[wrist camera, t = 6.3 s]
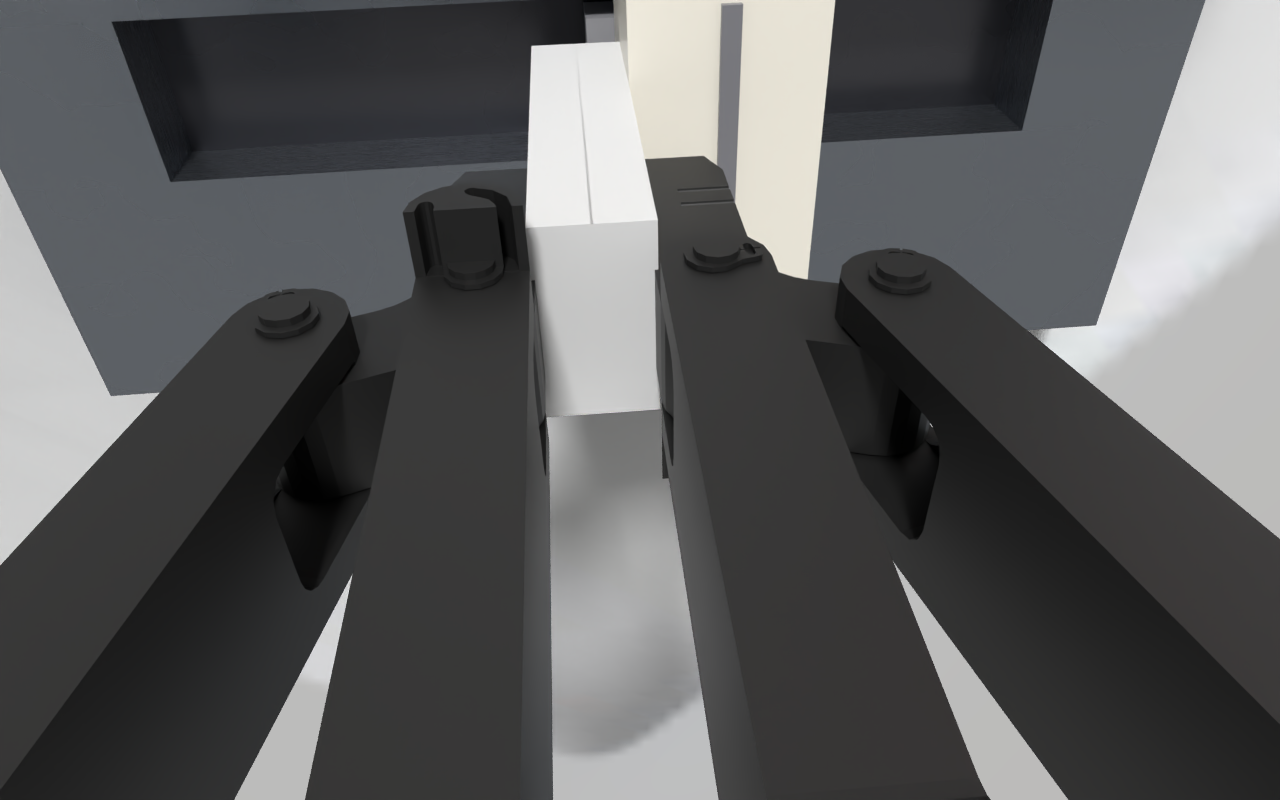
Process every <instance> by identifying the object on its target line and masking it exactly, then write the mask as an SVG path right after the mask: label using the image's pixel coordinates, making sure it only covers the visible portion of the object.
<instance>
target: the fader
mask: <svg viewBox="0 0 1280 800" xmlns="http://www.w3.org/2000/svg"><path fill="white" fill-rule="evenodd" d="M583 5H584V21H585V37H586V43H601V42H619V43H620V47H621V52H622V56H623V61H624V65H625V70H626V74H627V79H628V83H629V88H630V92H631V97H632V102H633V106H634V111H635V116H636V120H637V125H638V130H639V134H640V139H641V144H642V148H643V153H644V158H645V159H655V158H673V157H690V156H705V157H706V158H707V159H709V160H710V161H712V162H713V163H714V164H716V165H717V166H719V167H720V168H721V169H723V171H724V174H725V177H726V180H727V182H728V185H729V189H730V190H731V193H732V196H733V198H734V203H735V204H736V207H737V209H738V212H739V215H740V217H741V220H742V223H743V226H744V228H745V231H746V234H747V236H748V237H750V238H751V239H753V240H755V241H757V242H759V243H761V244H763V245H764V246H765V247H766V248H767V250H768V251H769V252H770V253H771V255H772V257H773V259H774V262H775V264H776V267H777V269H778V272H780V273H783V274H786V275H789V276H792V277H797V278H802V279H808V269H809V259H810V249H811V239H812V229H813V219H814V209H815V199H816V189H817V179H818V168H819V158H820V148H821V138H822V128H823V118H824V108H825V98H826V88H827V78H828V68H829V58H830V48H831V38H832V28H833V18H834V8H835V0H613V1H601V2H583Z"/></svg>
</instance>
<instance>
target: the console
mask: <svg viewBox="0 0 1280 800" xmlns="http://www.w3.org/2000/svg"><path fill="white" fill-rule="evenodd" d="M601 1H613V0H0V169H1V171H2V173H3V175H4V177H5V179H6V181H7V183H8V186H9V188H10V190H11V192H12V194H13V196H14V198H15V200H16V202H17V204H18V206H19V208H20V210H21V212H22V214H23V216H24V218H25V220H26V223H27V225H28V227H29V229H30V231H31V233H32V235H33V237H34V239H35V241H36V243H37V245H38V247H39V249H40V251H41V253H42V255H43V257H44V260H45V262H46V264H47V266H48V268H49V270H50V272H51V274H52V276H53V278H54V280H55V282H56V284H57V286H58V288H59V290H60V292H61V294H62V297H63V299H64V301H65V303H66V305H67V307H68V309H69V311H70V313H71V315H72V317H73V319H74V321H75V323H76V325H77V327H78V329H79V331H80V334H81V336H82V338H83V340H84V342H85V344H86V346H87V348H88V350H89V352H90V354H91V356H92V358H93V360H94V362H95V364H96V366H97V368H98V371H99V373H100V375H101V377H102V379H103V381H104V383H105V385H106V387H107V389H108V391H109V393H110V395H111V396H117V395H131V394H145V393H159V392H161V391H162V390H163V389H164V388H165V387H166V386H167V385H168V384H169V383H170V381H171V380H172V379H173V378H174V377H175V376H176V375H177V374H178V373H179V372H180V371H181V370H182V368H183V367H184V366H185V365H186V364H187V363H188V362H189V361H190V360H191V359H192V358H193V357H194V356H195V354H196V353H197V352H198V351H199V350H200V349H201V348H202V347H203V346H204V345H205V344H206V343H207V341H208V340H209V339H210V338H211V337H212V336H213V335H214V334H215V333H216V332H217V331H218V330H219V328H220V327H221V326H222V325H223V324H224V323H225V322H226V321H227V320H228V319H229V318H230V317H231V316H232V315H233V314H234V313H236V312H237V311H238V310H239V309H241V308H242V307H243V306H245V305H246V304H248V303H250V302H252V301H254V300H257V299H259V298H261V297H264V296H265V295H266V294H269V293H272V292H276V291H279V292H282V290H285V289H292V288H295V289H312V288H314V289H319V290H324V291H329V292H333V293H335V294H336V295H338V296H340V297H341V298H343V299H344V300H345V301H346V303H347V306H348V308H349V311H350V315H351V317H354V316H358V315H362V314H366V313H370V312H374V311H378V310H381V309H385V308H388V307H391V306H394V305H397V304H399V303H401V302H403V301H405V300H407V299H409V298H411V297H412V292H413V287H414V282H415V273H414V268H413V263H412V258H411V253H410V248H409V243H408V238H407V233H406V228H405V223H404V218H403V213H402V212H403V211H404V210H405V208H406V207H407V205H408V204H409V202H411V201H412V200H414V199H415V198H417V197H419V196H420V195H422V194H424V193H426V192H429V191H432V190H435V189H438V188H441V187H445V186H451V185H452V184H453V183H454V182H455V181H456V180H457V179H459V178H460V177H461V176H462V175H463V174H464V173H465V172H470V171H488V170H506V169H524V168H527V165H528V135H529V105H530V76H531V46H540V45H560V44H580V43H586V37H585V21H584V5H583V2H601ZM1204 3H1205V0H835V8H834V18H833V28H832V38H831V48H830V58H829V68H828V78H827V88H826V98H825V108H824V118H823V128H822V138H821V148H820V158H819V168H818V179H817V189H816V199H815V209H814V219H813V229H812V239H811V249H810V259H809V269H808V280H815V281H823V282H832V283H839V279H840V273H841V268H842V265H843V264H844V263H845V262H847V261H848V260H849V259H850V258H851V257H853V256H855V255H858V254H861V253H864V252H867V251H871V250H883V249H887V248H900V250H902V249H908V250H914V251H916V252H918V253H921V254H924V255H927V256H931V257H934V258H936V259H938V260H939V261H941V262H943V263H944V264H946V265H948V266H949V267H951V268H952V269H953V270H955V271H956V272H957V273H958V274H959V275H961V276H962V277H963V278H964V279H965V280H967V281H968V282H969V283H970V284H972V285H973V286H974V287H975V288H976V289H978V290H979V291H980V292H981V293H982V294H984V295H985V296H986V297H987V298H989V299H990V300H991V301H992V302H993V303H995V304H996V305H997V306H998V307H999V308H1001V309H1002V310H1003V311H1004V312H1005V313H1007V314H1008V315H1009V316H1010V317H1012V318H1013V319H1014V320H1015V321H1016V322H1018V323H1019V324H1020V325H1021V326H1022V327H1024V328H1025V329H1026V330H1037V329H1051V328H1065V327H1079V326H1092V325H1096V324H1097V321H1098V318H1099V315H1100V312H1101V309H1102V306H1103V303H1104V300H1105V297H1106V294H1107V291H1108V288H1109V285H1110V282H1111V279H1112V276H1113V273H1114V270H1115V267H1116V264H1117V261H1118V258H1119V255H1120V252H1121V249H1122V246H1123V243H1124V240H1125V237H1126V234H1127V231H1128V228H1129V225H1130V223H1131V220H1132V217H1133V214H1134V211H1135V208H1136V205H1137V202H1138V199H1139V196H1140V193H1141V190H1142V187H1143V184H1144V181H1145V178H1146V175H1147V172H1148V169H1149V166H1150V163H1151V160H1152V157H1153V154H1154V151H1155V148H1156V145H1157V142H1158V139H1159V136H1160V133H1161V130H1162V127H1163V124H1164V121H1165V118H1166V115H1167V113H1168V110H1169V107H1170V104H1171V101H1172V98H1173V95H1174V92H1175V89H1176V86H1177V83H1178V80H1179V77H1180V74H1181V71H1182V68H1183V65H1184V62H1185V59H1186V56H1187V53H1188V50H1189V47H1190V44H1191V41H1192V38H1193V35H1194V32H1195V29H1196V26H1197V23H1198V20H1199V17H1200V14H1201V11H1202V8H1203V5H1204Z"/></svg>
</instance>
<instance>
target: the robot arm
mask: <svg viewBox="0 0 1280 800" xmlns="http://www.w3.org/2000/svg"><path fill="white" fill-rule="evenodd" d="M402 213H403V218H404V223H405V228H406V233H407V238H408V243H409V248H410V253H411V258H412V263H413V268H414V273H415V282H414V287H413V292H412V297H411V298H409V299H407V300H405V301H403V302H401V303H399V304H397V305H394V306H391V307H388V308H385V309H381V310H378V311H374V312H370V313H366V314H362V315H358V316H354V317H351V315H350V311H349V308H348V306H347V303H346V301H345V300H344V299H343V298H341V297H340V296H338V295H336V294H335V293H333V292H329V291H324V290H319V289H314V288H312V289H295V288H292V289H285V290H282V292H279V291H276V292H272V293H269V294H266V295H265V296H264V297H261V298H259V299H257V300H254V301H252V302H250V303H248V304H246V305H245V306H243V307H242V308H241V309H239V310H238V311H237V312H236V313H234V314H233V315H232V316H231V317H230V318H229V319H228V320H227V321H226V322H225V323H224V324H223V325H222V326H221V327H220V328H219V330H218V331H217V332H216V333H215V334H214V335H213V336H212V337H211V338H210V339H209V340H208V341H207V343H206V344H205V345H204V346H203V347H202V348H201V349H200V350H199V351H198V352H197V353H196V354H195V356H194V357H193V358H192V359H191V360H190V361H189V362H188V363H187V364H186V365H185V366H184V367H183V368H182V370H181V371H180V372H179V373H178V374H177V375H176V376H175V377H174V378H173V379H172V380H171V381H170V383H169V384H168V385H167V386H166V387H165V388H164V389H163V390H162V391H161V392H160V393H159V394H158V396H157V397H156V398H155V399H154V400H153V401H152V402H151V403H150V404H149V405H148V406H147V407H146V408H145V410H144V411H143V412H142V413H141V414H140V415H139V416H138V417H137V418H136V419H135V420H134V421H133V423H132V424H131V425H130V426H129V427H128V428H127V429H126V430H125V431H124V432H123V433H122V434H121V436H120V437H119V438H118V439H117V440H116V441H115V442H114V443H113V444H112V445H111V446H110V447H109V448H108V450H107V451H106V452H105V453H104V454H103V455H102V456H101V457H100V458H99V459H98V460H97V461H96V463H95V464H94V465H93V466H92V467H91V468H90V469H89V470H88V471H87V472H86V473H85V474H84V476H83V477H82V478H81V479H80V480H79V481H78V482H77V483H76V484H75V485H74V486H73V487H72V488H71V490H70V491H69V492H68V493H67V494H66V495H65V496H64V497H63V498H62V499H61V500H60V501H59V503H58V504H57V505H56V506H55V507H54V508H53V509H52V510H51V511H50V512H49V513H48V514H47V516H46V517H45V518H44V519H43V520H42V521H41V522H40V523H39V524H38V525H37V526H36V527H35V529H34V530H33V531H32V532H31V533H30V534H29V535H28V536H27V537H26V538H25V539H24V540H23V541H22V543H21V544H20V545H19V546H18V547H17V548H16V549H15V550H14V551H13V552H12V553H11V554H10V556H9V557H8V558H7V559H6V560H5V561H4V562H3V563H2V564H1V565H0V800H234V799H235V797H236V795H237V793H238V791H239V789H240V787H241V785H242V784H243V782H244V780H245V778H246V776H247V774H248V772H249V770H250V768H251V766H252V765H253V763H254V761H255V759H256V757H257V755H258V753H259V751H260V749H261V747H262V745H263V743H264V742H265V740H266V738H267V736H268V734H269V732H270V730H271V728H272V726H273V724H274V723H275V721H276V719H277V717H278V715H279V713H280V711H281V709H282V707H283V705H284V703H285V701H286V700H287V697H288V695H289V694H290V692H291V690H292V688H293V686H294V684H295V682H296V681H297V679H298V677H299V675H300V673H301V671H302V669H303V667H304V665H305V663H306V661H307V660H308V658H309V656H310V654H311V652H312V650H313V648H314V646H315V644H316V642H317V640H318V639H319V637H320V635H321V633H322V631H323V629H324V627H325V625H326V623H327V621H328V619H329V618H330V616H331V614H332V612H333V610H334V608H335V606H336V604H337V602H338V600H339V598H340V597H341V595H342V593H343V591H344V589H345V587H346V585H347V583H348V581H349V579H350V577H351V576H352V580H351V585H350V590H349V594H348V599H347V604H346V609H345V613H344V618H343V623H342V627H341V632H340V637H339V642H338V646H337V651H336V656H335V661H334V665H333V670H332V675H331V679H330V684H329V689H328V694H327V698H326V703H325V708H324V713H323V717H322V723H321V727H320V731H319V736H318V741H317V746H316V751H315V755H314V760H313V765H312V769H311V774H310V779H309V783H308V788H307V793H306V798H305V800H553V767H552V766H553V765H552V670H551V577H550V484H549V437H548V428H547V419H546V417H558V416H573V415H587V414H601V413H616V412H630V411H644V410H659V409H660V394H661V400H662V466H663V479H665V478H669V481H670V488H671V494H672V501H673V507H674V514H675V520H676V527H677V533H678V540H679V546H680V552H681V559H682V565H683V572H684V578H685V585H686V591H687V598H688V604H689V611H690V617H691V624H692V630H693V637H694V643H695V650H696V656H697V662H698V669H699V675H700V682H701V688H702V695H703V701H704V708H705V714H706V720H707V727H708V734H709V740H710V746H711V753H712V759H713V765H714V772H715V779H716V785H717V792H718V798H719V800H990V798H989V797H988V796H987V794H986V792H985V790H984V788H983V786H982V784H981V782H980V780H979V778H978V775H977V773H976V770H975V768H974V765H973V763H972V760H971V758H970V755H969V752H968V750H967V748H966V745H965V743H964V740H963V737H962V735H961V732H960V730H959V727H958V725H957V722H956V720H955V717H954V715H953V712H952V710H951V707H950V704H949V702H948V699H947V697H946V694H945V692H944V689H943V687H942V684H941V682H940V679H939V677H938V674H937V672H936V669H935V666H934V664H933V661H932V659H931V656H930V654H929V651H928V649H927V646H926V644H925V641H924V639H923V636H922V634H921V631H920V629H919V626H918V623H917V621H916V618H915V616H914V614H913V611H912V608H911V606H910V603H909V601H908V598H907V596H906V593H905V591H904V588H903V586H902V583H901V581H900V578H899V576H898V573H897V571H896V568H895V565H894V563H895V564H896V566H897V567H898V568H899V570H900V571H901V572H902V574H903V575H904V576H905V578H906V579H907V580H908V582H909V583H910V585H911V586H912V587H913V588H914V590H915V591H916V593H917V594H918V596H919V597H920V598H921V600H922V601H923V602H924V604H925V605H926V606H927V608H928V609H929V611H930V612H931V613H932V614H933V616H934V617H935V619H936V620H937V621H938V623H939V624H940V626H941V627H942V628H943V630H944V631H945V632H946V634H947V635H948V636H949V638H950V639H951V640H952V642H953V643H954V645H955V646H956V647H957V649H958V650H959V651H960V653H961V654H962V655H963V657H964V658H965V659H966V661H967V662H968V664H969V665H970V666H971V667H972V669H973V670H974V672H975V673H976V675H977V676H978V677H979V679H980V680H981V681H982V683H983V684H984V685H985V687H986V688H987V690H988V691H989V692H990V694H991V695H992V696H993V698H994V699H995V700H996V702H997V703H998V704H999V706H1000V707H1001V708H1002V710H1003V711H1004V713H1005V714H1006V715H1007V717H1008V718H1009V719H1010V721H1011V722H1012V724H1013V725H1014V726H1015V728H1016V729H1017V730H1018V732H1019V733H1020V734H1021V736H1022V737H1023V739H1024V740H1025V741H1026V743H1027V744H1028V745H1029V747H1030V748H1031V749H1032V751H1033V752H1034V753H1035V755H1036V756H1037V758H1038V759H1039V760H1040V762H1041V763H1042V764H1043V766H1044V767H1045V769H1046V770H1047V771H1048V773H1049V774H1050V775H1051V777H1052V778H1053V779H1054V781H1055V782H1056V783H1057V785H1058V786H1059V787H1060V789H1061V790H1062V792H1063V793H1064V794H1065V796H1066V797H1067V798H1068V800H1280V539H1279V538H1278V537H1277V536H1275V535H1274V534H1273V533H1272V532H1270V531H1269V530H1268V529H1267V528H1266V527H1264V526H1263V525H1262V524H1261V523H1260V522H1258V521H1257V520H1256V519H1255V518H1253V517H1252V516H1251V515H1250V514H1249V513H1248V512H1246V511H1245V510H1244V509H1243V508H1242V507H1240V506H1239V505H1238V504H1237V503H1235V502H1234V501H1233V500H1232V499H1230V498H1229V497H1228V496H1227V495H1226V494H1224V493H1223V492H1222V491H1221V490H1220V489H1218V488H1217V487H1216V486H1215V485H1214V484H1212V483H1211V482H1210V481H1209V480H1208V479H1206V478H1205V477H1204V476H1203V475H1201V474H1200V473H1199V472H1198V471H1197V470H1196V469H1194V468H1193V467H1192V466H1191V465H1189V464H1188V463H1187V462H1186V461H1185V460H1183V459H1182V458H1181V457H1180V456H1179V455H1177V454H1176V453H1175V452H1174V451H1173V450H1171V449H1170V448H1169V447H1168V446H1166V445H1165V444H1164V443H1163V442H1161V441H1160V440H1159V439H1158V438H1157V437H1156V436H1154V435H1153V434H1152V433H1151V432H1150V431H1148V430H1147V429H1146V428H1145V427H1143V426H1142V425H1141V424H1140V423H1138V422H1137V421H1136V420H1135V419H1133V417H1131V416H1130V415H1129V414H1128V413H1127V412H1125V411H1124V410H1123V409H1122V408H1120V407H1119V406H1118V405H1117V404H1116V403H1114V402H1113V401H1112V400H1111V399H1109V398H1108V397H1107V396H1106V395H1105V394H1104V393H1102V392H1101V391H1100V390H1099V389H1097V388H1096V387H1095V386H1094V385H1093V384H1091V383H1090V382H1089V381H1088V380H1087V379H1085V378H1084V377H1083V376H1082V375H1081V374H1079V373H1078V372H1077V371H1076V370H1074V369H1073V368H1072V367H1071V366H1070V365H1068V364H1067V363H1066V362H1065V361H1064V360H1062V359H1061V358H1060V357H1059V356H1058V355H1056V354H1055V353H1054V352H1053V351H1051V350H1050V349H1049V348H1048V347H1047V346H1045V345H1044V344H1043V343H1042V342H1041V341H1039V340H1038V339H1037V338H1036V337H1035V336H1033V335H1032V334H1031V333H1030V332H1028V331H1027V330H1026V329H1025V328H1024V327H1022V326H1021V325H1020V324H1019V323H1018V322H1016V321H1015V320H1014V319H1013V318H1012V317H1010V316H1009V315H1008V314H1007V313H1005V312H1004V311H1003V310H1002V309H1001V308H999V307H998V306H997V305H996V304H995V303H993V302H992V301H991V300H990V299H989V298H987V297H986V296H985V295H984V294H982V293H981V292H980V291H979V290H978V289H976V288H975V287H974V286H973V285H972V284H970V283H969V282H968V281H967V280H965V279H964V278H963V277H962V276H961V275H959V274H958V273H957V272H956V271H955V270H953V269H952V268H951V267H949V266H948V265H946V264H944V263H943V262H941V261H939V260H938V259H936V258H934V257H931V256H927V255H924V254H921V253H918V252H916V251H914V250H908V249H902V250H900V248H887V249H883V250H871V251H867V252H864V253H861V254H858V255H855V256H853V257H851V258H850V259H849V260H848V261H847V262H845V263H844V264H843V265H842V268H841V273H840V279H839V283H832V282H823V281H815V280H808V279H802V278H797V277H792V276H789V275H786V274H783V273H780V272H778V269H777V267H776V264H775V262H774V259H773V257H772V255H771V253H770V252H769V251H768V250H767V248H766V247H765V246H764V245H763V244H761V243H759V242H757V241H755V240H753V239H751V238H750V237H748V236H747V234H746V231H745V228H744V226H743V223H742V220H741V217H740V215H739V212H738V209H737V207H736V204H735V203H734V198H733V196H732V193H731V190H730V189H729V185H728V182H727V180H726V177H725V174H724V171H723V169H721V168H720V167H719V166H717V165H716V164H714V163H713V162H712V161H710V160H709V159H707V158H706V157H705V156H690V157H673V158H655V159H645V158H644V153H643V148H642V144H641V139H640V134H639V130H638V125H637V120H636V116H635V111H634V106H633V102H632V97H631V92H630V88H629V83H628V79H627V74H626V70H625V65H624V61H623V56H622V52H621V47H620V43H619V42H601V43H580V44H560V45H540V46H531V76H530V105H529V135H528V165H527V168H524V169H506V170H488V171H470V172H465V173H464V174H463V175H462V176H461V177H460V178H459V179H457V180H456V181H455V182H454V183H453V184H452V185H451V186H445V187H441V188H438V189H435V190H432V191H429V192H426V193H424V194H422V195H420V196H419V197H417V198H415V199H414V200H412V201H411V202H409V204H408V205H407V207H406V208H405V210H404V211H403V212H402ZM930 423H931V425H932V426H933V428H932V426H931V425H930ZM893 562H894V563H893ZM352 574H353V575H352Z"/></svg>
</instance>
